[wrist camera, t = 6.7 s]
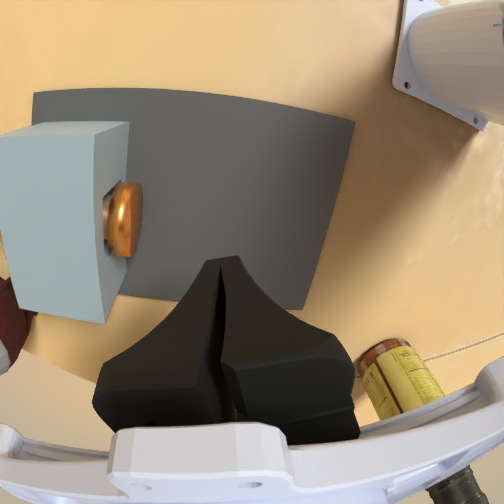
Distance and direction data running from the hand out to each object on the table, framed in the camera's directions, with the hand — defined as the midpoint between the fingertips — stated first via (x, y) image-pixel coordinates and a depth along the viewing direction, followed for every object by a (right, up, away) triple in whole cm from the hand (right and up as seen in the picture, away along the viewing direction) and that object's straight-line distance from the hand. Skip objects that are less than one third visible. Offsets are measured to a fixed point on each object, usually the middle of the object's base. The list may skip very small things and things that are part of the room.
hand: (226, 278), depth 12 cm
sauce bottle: (+15, -9, +16) cm, 24 cm away
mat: (-4, +4, +6) cm, 8 cm away
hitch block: (-10, +5, +5) cm, 12 cm away
